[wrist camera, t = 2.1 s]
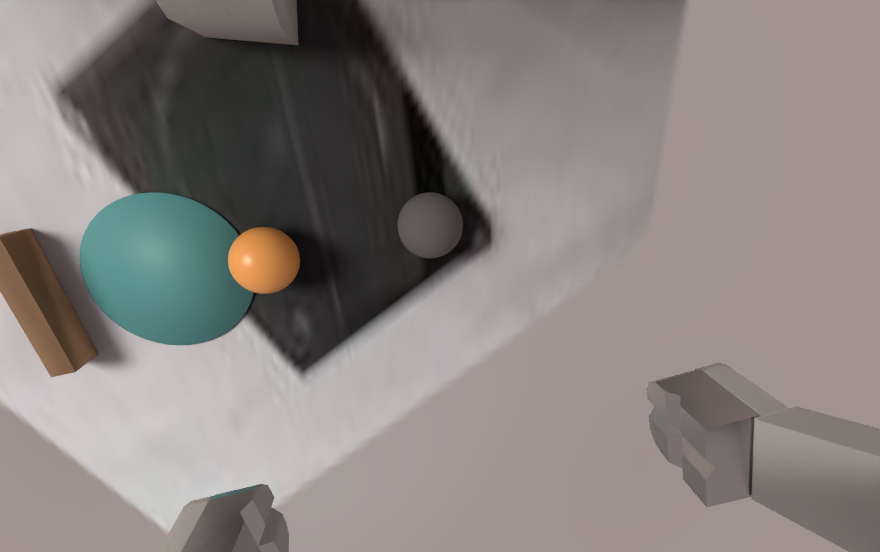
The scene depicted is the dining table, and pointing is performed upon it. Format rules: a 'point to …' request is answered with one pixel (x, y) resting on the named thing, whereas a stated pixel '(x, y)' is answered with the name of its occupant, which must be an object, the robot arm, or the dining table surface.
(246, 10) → the white carton box
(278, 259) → the orange ball
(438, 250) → the gray ball
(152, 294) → the teal ellipsoid
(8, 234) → the wall
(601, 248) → the dining table surface
